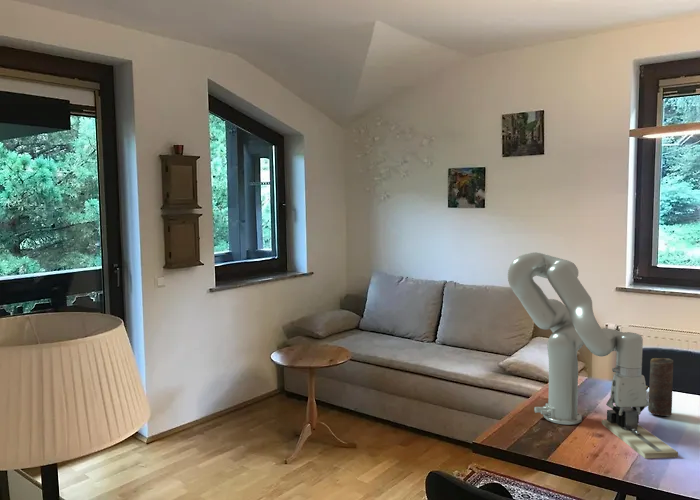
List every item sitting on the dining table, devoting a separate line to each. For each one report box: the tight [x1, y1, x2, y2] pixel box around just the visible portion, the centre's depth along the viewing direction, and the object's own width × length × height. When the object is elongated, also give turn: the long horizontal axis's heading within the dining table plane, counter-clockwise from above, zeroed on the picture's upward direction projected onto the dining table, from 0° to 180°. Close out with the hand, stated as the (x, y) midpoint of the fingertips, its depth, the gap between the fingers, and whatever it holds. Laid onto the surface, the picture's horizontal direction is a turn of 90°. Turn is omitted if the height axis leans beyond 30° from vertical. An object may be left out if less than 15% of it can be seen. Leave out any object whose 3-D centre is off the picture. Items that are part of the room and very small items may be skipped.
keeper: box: [606, 403, 616, 423], centre depth 193 cm, size 4×7×6 cm, turn 93°
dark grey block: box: [622, 407, 640, 435], centre depth 185 cm, size 9×4×6 cm, turn 3°
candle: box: [647, 357, 674, 417], centre depth 201 cm, size 8×7×20 cm
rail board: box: [601, 418, 679, 459], centre depth 182 cm, size 26×10×2 cm, turn 3°
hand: (627, 424), depth 188 cm, fingers closed on dark grey block, 4 cm apart
